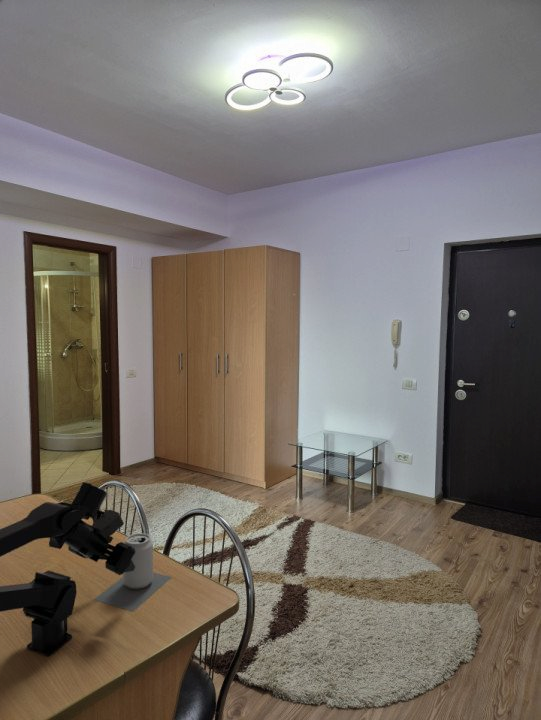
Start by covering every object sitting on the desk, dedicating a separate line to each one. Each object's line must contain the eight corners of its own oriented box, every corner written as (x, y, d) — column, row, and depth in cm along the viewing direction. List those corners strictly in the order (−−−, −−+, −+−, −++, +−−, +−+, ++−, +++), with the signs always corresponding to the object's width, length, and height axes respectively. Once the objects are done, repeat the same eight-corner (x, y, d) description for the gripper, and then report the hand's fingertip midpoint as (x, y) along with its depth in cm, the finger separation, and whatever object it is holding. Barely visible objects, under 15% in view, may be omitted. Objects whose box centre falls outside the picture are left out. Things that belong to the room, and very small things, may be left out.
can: (150, 590, 119) (150, 543, 118) (120, 591, 118) (119, 544, 117) (155, 574, 126) (155, 530, 125) (126, 575, 125) (126, 531, 125)
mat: (133, 613, 111) (133, 611, 111) (93, 602, 115) (93, 599, 115) (172, 579, 126) (172, 577, 125) (135, 569, 130) (135, 567, 130)
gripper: (128, 513, 106) (165, 542, 116) (78, 495, 116) (116, 523, 126) (98, 561, 100) (140, 587, 110) (48, 538, 111) (91, 564, 121)
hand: (121, 563), depth 117 cm, fingers open, 9 cm apart
